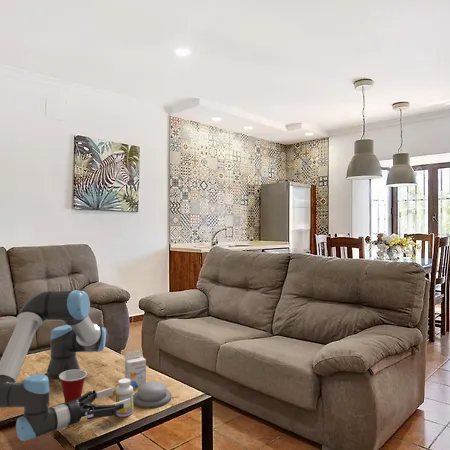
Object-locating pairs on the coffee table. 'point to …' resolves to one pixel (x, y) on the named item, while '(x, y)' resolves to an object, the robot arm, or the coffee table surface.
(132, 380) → the ink box
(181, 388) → the coffee table surface
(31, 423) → the robot arm
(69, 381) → the plastic cup
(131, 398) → the supplement bottle
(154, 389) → the grey hat
